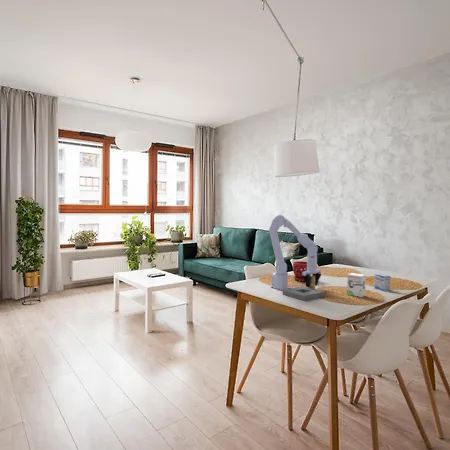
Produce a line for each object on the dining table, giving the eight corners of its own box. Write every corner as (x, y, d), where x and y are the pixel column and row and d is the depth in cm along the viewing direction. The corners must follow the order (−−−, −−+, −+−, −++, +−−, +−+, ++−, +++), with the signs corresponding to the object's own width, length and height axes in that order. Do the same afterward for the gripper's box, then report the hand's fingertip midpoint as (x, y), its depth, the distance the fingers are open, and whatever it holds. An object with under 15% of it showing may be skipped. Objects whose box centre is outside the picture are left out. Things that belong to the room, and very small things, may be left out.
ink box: (346, 294, 194) (347, 273, 193) (350, 293, 197) (350, 272, 197) (362, 297, 188) (362, 276, 187) (365, 295, 192) (365, 274, 191)
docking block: (282, 294, 194) (282, 290, 194) (302, 290, 204) (302, 286, 203) (304, 300, 181) (304, 296, 181) (324, 296, 191) (324, 291, 190)
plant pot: (314, 282, 225) (315, 264, 224) (294, 282, 225) (294, 263, 225) (310, 278, 238) (310, 260, 238) (291, 277, 238) (291, 260, 238)
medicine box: (374, 288, 209) (374, 274, 209) (379, 287, 211) (380, 273, 210) (384, 291, 202) (384, 276, 202) (390, 290, 204) (390, 275, 203)
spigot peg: (306, 289, 206) (306, 276, 205) (311, 288, 208) (311, 275, 208) (312, 290, 203) (312, 277, 202) (316, 289, 205) (316, 276, 205)
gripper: (309, 265, 197) (308, 289, 198) (325, 263, 206) (325, 285, 206) (299, 264, 203) (299, 286, 204) (315, 261, 211) (315, 283, 212)
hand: (311, 286), depth 205 cm, fingers open, 6 cm apart
